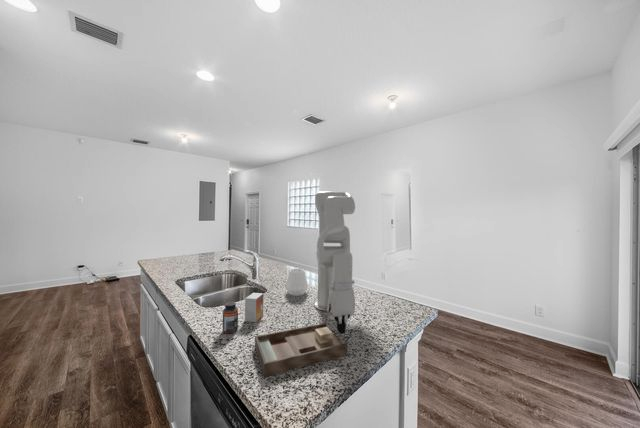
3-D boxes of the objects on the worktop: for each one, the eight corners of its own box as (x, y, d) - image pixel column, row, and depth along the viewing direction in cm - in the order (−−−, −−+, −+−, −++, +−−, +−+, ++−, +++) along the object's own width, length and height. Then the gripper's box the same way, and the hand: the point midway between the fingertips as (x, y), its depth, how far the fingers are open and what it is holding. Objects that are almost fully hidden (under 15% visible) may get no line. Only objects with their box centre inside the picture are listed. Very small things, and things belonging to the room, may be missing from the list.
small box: (255, 322, 109) (256, 299, 109) (244, 321, 110) (244, 298, 110) (263, 315, 117) (263, 293, 117) (252, 314, 118) (253, 292, 118)
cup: (282, 290, 152) (283, 268, 151) (303, 288, 157) (303, 266, 157) (289, 298, 139) (289, 273, 139) (311, 295, 145) (311, 271, 144)
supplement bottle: (225, 327, 104) (225, 300, 104) (239, 326, 105) (239, 300, 105) (220, 334, 99) (220, 306, 98) (235, 333, 99) (236, 306, 99)
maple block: (326, 334, 95) (326, 326, 95) (332, 340, 90) (332, 332, 90) (314, 337, 93) (314, 329, 93) (320, 343, 88) (320, 335, 88)
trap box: (325, 332, 102) (325, 322, 101) (347, 355, 86) (347, 344, 86) (254, 347, 90) (254, 336, 90) (264, 377, 74) (264, 363, 74)
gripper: (353, 280, 101) (352, 324, 101) (320, 284, 95) (319, 331, 95) (364, 285, 94) (363, 333, 94) (328, 290, 88) (328, 341, 88)
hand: (341, 332), depth 95 cm, fingers closed
